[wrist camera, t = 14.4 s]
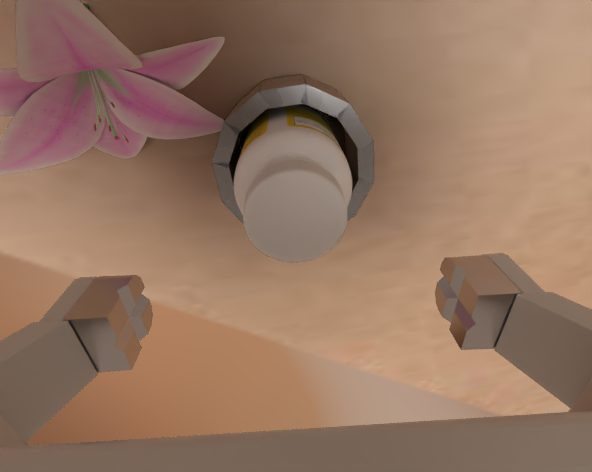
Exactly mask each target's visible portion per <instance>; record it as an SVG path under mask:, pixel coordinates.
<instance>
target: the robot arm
mask: <svg viewBox="0 0 592 472" xmlns="http://www.w3.org/2000/svg"><path fill="white" fill-rule="evenodd" d="M440 271H441V272H442V274H443V275H444V277H443V278H442V279H440V280H439V281H438V282H437V285H436V291H435V297H436V304H437V307H438V310H439V312H440V314H441V316H442V317H443V318H445V319H446V320H448V321H450V322H451V325H450V329H449V330H450V332H451V333H452V335H453V337H454V339H455V340H456V342H457V344H458V346H459V347H460V349H461V350H470V349H495V351H496V352H497V353H499V354H500V355H501V356H503V357H504V358H505V359H507V360H508V361H509V362H511V363H512V364H513V365H514V366H516V367H517V368H518V369H520V370H521V371H522V372H524V373H525V374H526V375H528V376H529V377H530V378H531V379H533V380H534V381H535V382H537V383H538V384H539V385H541V386H542V387H543V388H545V389H546V390H547V391H549V392H550V393H551V394H552V395H554V396H555V397H556V398H558V399H559V400H560V401H562V402H563V403H564V404H566V405H567V406H568V407H569V408H570V410H569V411H568V412H563V413H547V414H530V415H514V416H498V417H484V418H466V419H451V420H435V421H419V422H404V423H388V424H372V425H357V426H340V427H326V428H308V429H292V430H276V431H259V432H242V433H227V434H210V435H194V436H177V437H161V438H145V439H130V440H113V441H96V442H80V443H65V444H48V445H33V446H29V445H28V443H27V441H28V440H29V439H30V438H31V437H32V436H33V435H34V434H35V433H36V432H37V431H39V430H40V429H41V428H42V427H43V426H44V425H45V424H46V423H47V422H48V421H49V420H50V419H51V418H52V417H53V416H54V415H55V414H57V412H58V411H60V410H61V409H62V408H63V407H64V406H65V405H66V404H67V403H68V402H69V401H70V400H71V399H72V398H73V397H75V396H76V395H77V394H78V393H79V392H80V391H81V390H82V389H83V388H84V387H85V386H86V385H87V384H88V383H89V382H90V381H92V379H94V378H95V377H96V376H97V374H98V372H110V371H121V370H132V368H133V366H134V364H135V362H136V360H137V357H138V355H139V353H140V351H141V348H142V347H141V345H140V342H139V341H140V340H141V339H142V338H144V337H145V336H146V335H147V334H148V332H149V330H150V328H151V324H152V317H153V313H152V306H151V303H150V300H149V299H148V298H146V297H145V296H144V295H142V294H141V293H142V291H143V289H144V284H143V282H142V280H141V277H139V276H137V275H126V276H99V277H81V278H78V279H75V280H74V281H73V282H72V284H71V285H70V286H69V287H68V288H67V289H66V291H65V292H64V293H63V294H62V296H61V297H60V298H59V299H58V300H57V301H56V302H55V304H54V305H53V306H52V307H51V308H50V310H49V311H48V312H47V313H46V314H45V315H44V317H43V318H42V319H41V320H40V321H39V322H34V323H31V324H29V325H27V326H26V327H24V328H22V329H20V330H19V331H17V332H15V333H13V334H12V335H10V336H8V337H6V338H5V339H3V340H1V341H0V472H592V310H591V309H589V308H587V307H584V306H582V305H580V304H578V303H575V302H573V301H571V300H569V299H566V298H564V297H562V296H559V295H557V294H555V293H553V292H544V291H543V290H542V289H541V288H540V287H539V286H538V285H537V284H536V283H535V282H534V281H533V280H532V279H531V278H530V277H529V276H528V275H527V274H526V273H525V272H524V271H523V270H522V269H521V268H520V267H519V266H518V265H517V264H516V263H515V262H514V261H513V260H512V259H511V258H510V257H509V256H508V255H506V254H503V253H496V254H484V255H479V256H463V257H447V258H444V260H443V261H442V264H441V268H440Z"/></svg>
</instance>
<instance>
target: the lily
mask: <svg viewBox="0 0 592 472" xmlns="http://www.w3.org/2000/svg"><path fill="white" fill-rule="evenodd" d="M15 31H16V57H17V69H0V115H3V116H14V117H13V119H12V120H11V122H10V123H9V125H8V127H7V129H6V131H5V133H4V135H3V137H2V140H1V142H0V175H5V174H14V173H21V172H26V171H31V170H37V169H41V168H45V167H49V166H53V165H57V164H61V163H63V162H66V161H69V160H71V159H74V158H77V157H79V156H80V155H82V154H84V153H85V152H87V151H88V150H90V149H91V148H92V147H95V148H96V149H98V150H100V151H102V152H105V153H107V154H109V155H112V156H115V157H118V158H123V159H130V158H132V157H135V156H136V155H137V154H138V153H139V152H140V151H141V149H142V148H143V146H144V144H145V142H146V140H147V137H150V138H157V139H164V140H170V139H185V138H192V137H199V136H204V135H208V134H213V133H216V132H219V131H221V129H222V126H223V123H224V121H225V120H223V119H222V118H220V117H218V116H216V115H215V114H213V113H211V112H209V111H208V110H206V109H204V108H203V107H201V106H200V105H198V104H197V103H195V102H194V101H192V100H191V99H189V98H187V97H186V96H184V95H183V94H181V93H179V92H177V90H180V89H182V88H184V87H185V86H187V85H188V84H189V83H190V82H192V81H193V80H194V79H195V78H196V77H197V76H198V75H199V74H200V73H201V72H202V71H203V70H204V69H205V68H206V67H207V66H208V65H209V64H210V62H211V61H212V60H213V59H214V58H215V56H216V55H217V54H218V52H219V51H220V49H221V48H222V46H223V44H224V39H225V37H220V36H218V37H213V38H208V39H204V40H199V41H195V42H191V43H186V44H182V45H178V46H173V47H169V48H165V49H160V50H156V51H152V52H147V53H143V54H138V55H134V54H133V53H132V52H131V51H130V50H129V49H128V48H127V47H126V46H125V45H124V44H123V43H121V42H120V41H119V40H118V39H117V38H116V37H115V36H114V35H113V34H112V33H111V32H110V31H109V30H108V29H107V28H106V27H105V26H104V24H103V23H102V22H101V21H100V20H98V19H97V18H96V17H95V16H94V15H93V14H92V13H91V12H90V11H89V7H88V5H87V4H82V3H81V2H80V1H79V0H16V23H15Z"/></svg>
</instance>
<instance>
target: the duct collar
mask: <svg viewBox="0 0 592 472" xmlns="http://www.w3.org/2000/svg"><path fill="white" fill-rule="evenodd" d="M297 104H306V105H309V106H311V107H313V108H315V109H318V110H320V111H322V112H325V113H327V114H329V115H331V116H334V117H336V118H338V119H339V121H340V122H341V124H342V125H343V127H344V137H345V157H346V159H347V162H348V165H349V168H350V171H351V176H352V194H351V198H350V202H349V205H348V207H347V221H348V220H350V219H351V218H353V217H354V215H356V213H357V211H358V210H359V208H360V206H361V204H362V202H363V201H364V199H365V197H366V195H367V194H368V192H369V190H370V188H371V186H372V185H373V183H374V182H373V181H374V141H373V139H372V137H371V136H370V134H369V133H368V131H367V130H366V128H365V127H364V125H363V123H362V122H361V120H360V119H359V117H358V116H357V114H356V113H355V111H354V109H353V108H352V106H351V105H350V104H349V102H348V101H347V100H346V99H345V98H344V97H343V96H342V95H341V94H340V93H339V92H338V91H337V90H336V89H334V88H332V87H330V86H327V85H325V84H323V83H321V82H319V81H316V80H314V79H312V78H310V77H308V76H306V75H302V74H299V75H293V76H286V77H279V78H273V79H266V80H265V81H264V80H263V81H262V82H261V83H260V84H259V85H258V86H257V87H256V88H254V89H253V90H252V91H251V92H250V93H249V94H248V95H246V96H245V97H244V98H243V99H242V100H241V101H240V102H238V103H237V104H236V106H235V107H234V108H233V110H232V111H231V113H230V114H229V115H228V117H227V118H226V120H225V121H224V123H223V126H222V129H221V133H220V136H219V140H218V143H217V147H216V150H215V153H214V157H213V160H212V166H213V170H214V173H215V177H216V181H217V184H218V188H219V192H220V195H221V199H222V201H223V203H224V204H225V205H226V206H227V207H228V208H229V209H230V210H231V211H232V212H233V213H234V214H235V215H236V216H237V218H238V219H239V220H240V221H241V222H242V223H243V215H242V213H241V211H240V209H239V207H238V205H237V202H236V199H235V194H234V175H235V170H236V166H237V163H238V160H239V157H240V154H241V147H240V142H239V140H240V137H241V134H242V130H243V128H245V127H246V126H247V125H248V124H249V123H251V122H252V121H253V120H254V119H255V118H256V117H258V116H259V115H260V114H261V113H262V112H264V111H265V110H266V109H270V108H277V107H283V106H290V105H297ZM243 224H244V223H243Z"/></svg>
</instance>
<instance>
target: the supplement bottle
mask: <svg viewBox="0 0 592 472" xmlns="http://www.w3.org/2000/svg"><path fill="white" fill-rule="evenodd" d="M234 194H235V199H236V202H237V205H238V207H239V209H240V211H241V213H242V215H243V223H244V228H245V231H246V233H247V235H248V237H249V239H250V241H251V242H252V243H253V245H254V246H255V247H256V248H257V249H258V250H260V251H261V252H262V253H264V254H265V255H267V256H269V257H271V258H273V259H276V260H279V261H284V262H305V261H309V260H313V259H315V258H318V257H320V256H322V255H324V254H325V253H327V252H328V251H330V250H331V249H332V248H333V247H334V246H335V245H336V244H337V243H338V242H339V240H340V239H341V237H342V235H343V233H344V231H345V228H346V224H347V207H348V205H349V202H350V198H351V194H352V176H351V171H350V168H349V165H348V162H347V159H346V157H345V155H344V153H343V152H342V150H341V148H340V146H339V144H338V142H337V140H336V138H335V136H334V134H333V132H332V130H331V128H330V127H329V125H328V123H327V121H326V120H325V119H324V118H323V117H322V115H321V114H319V113H318V112H317V111H316V110H315V109H313V108H311V107H310V106H308V105H305V104H297V105H290V106H283V107H277V108H270V109H266V110H265V111H264V112H262V113H261V114H260V115H259V116H258V117H256V118H255V120H254V121H253V123H252V124H251V126H250V128H249V131H248V133H247V136H246V140H245V143H244V146H243V148H242V151H241V154H240V157H239V160H238V163H237V166H236V170H235V175H234Z"/></svg>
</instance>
